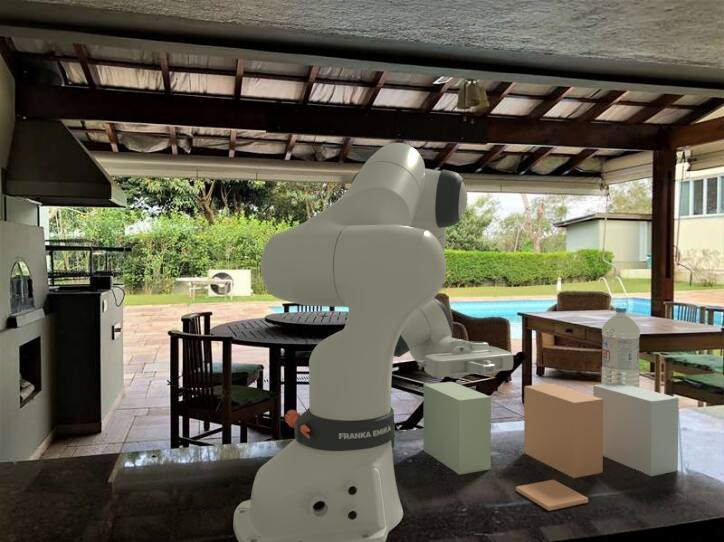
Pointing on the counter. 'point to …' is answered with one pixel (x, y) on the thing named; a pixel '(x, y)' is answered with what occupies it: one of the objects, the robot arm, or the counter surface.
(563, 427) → the terracotta block
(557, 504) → the tile
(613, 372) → the water bottle
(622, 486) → the counter surface
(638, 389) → the blue-grey block
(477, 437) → the sage block
